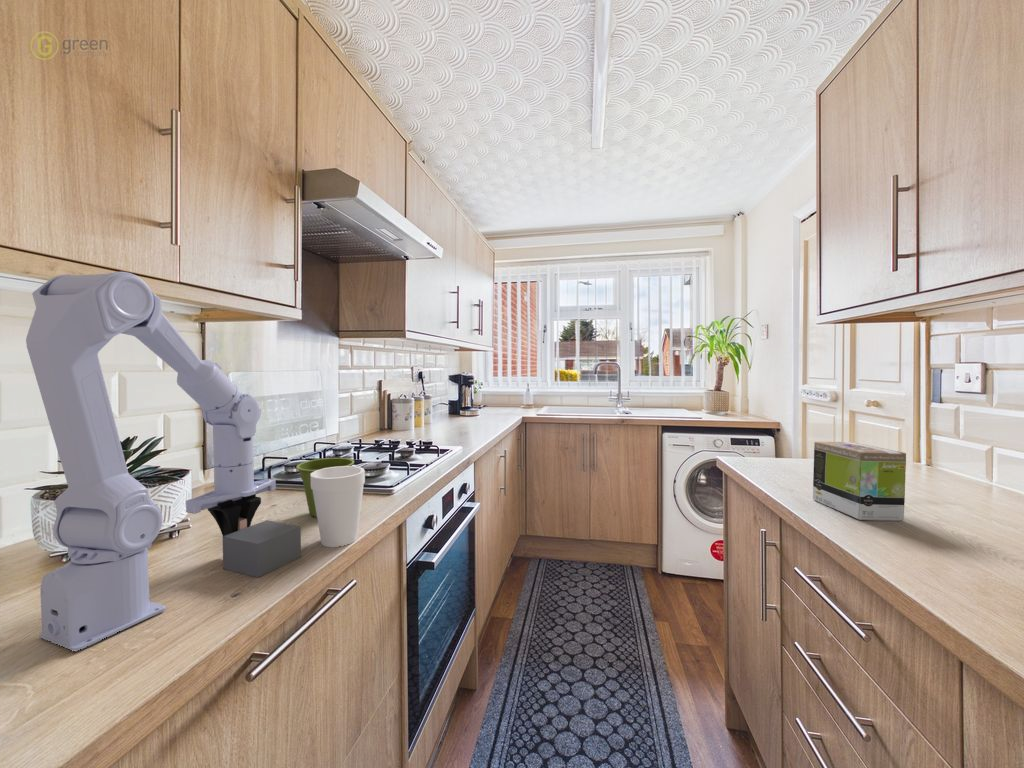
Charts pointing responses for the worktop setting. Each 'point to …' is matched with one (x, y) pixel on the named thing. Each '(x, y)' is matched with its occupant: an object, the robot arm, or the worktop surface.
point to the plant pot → (312, 466)
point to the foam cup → (338, 503)
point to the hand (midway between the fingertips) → (235, 542)
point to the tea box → (860, 480)
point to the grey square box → (261, 548)
